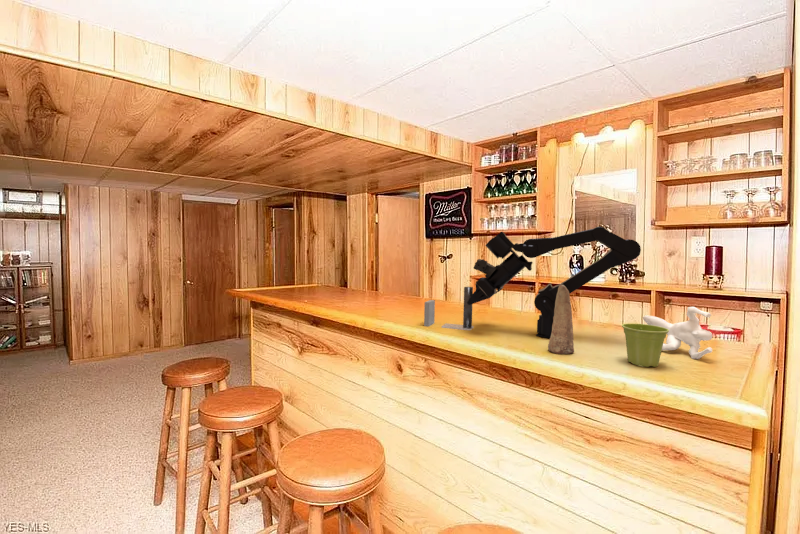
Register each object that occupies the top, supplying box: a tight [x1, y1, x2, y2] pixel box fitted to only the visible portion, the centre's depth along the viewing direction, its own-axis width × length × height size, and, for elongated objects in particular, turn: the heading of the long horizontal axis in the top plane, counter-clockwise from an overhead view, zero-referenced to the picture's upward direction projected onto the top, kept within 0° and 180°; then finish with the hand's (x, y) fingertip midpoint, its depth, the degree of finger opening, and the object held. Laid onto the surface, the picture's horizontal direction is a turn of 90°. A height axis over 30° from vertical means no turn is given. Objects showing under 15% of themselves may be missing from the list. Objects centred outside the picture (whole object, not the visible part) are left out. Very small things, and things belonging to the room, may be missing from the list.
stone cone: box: [547, 284, 575, 355], centre depth 101 cm, size 6×18×6 cm
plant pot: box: [621, 323, 669, 368], centre depth 93 cm, size 9×9×9 cm
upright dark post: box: [441, 286, 475, 331], centre depth 130 cm, size 10×5×14 cm, turn 67°
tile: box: [423, 299, 436, 328], centre depth 134 cm, size 2×6×8 cm, turn 157°
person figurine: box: [642, 306, 713, 360], centre depth 104 cm, size 13×13×18 cm
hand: (471, 301), depth 128 cm, fingers open, 9 cm apart
